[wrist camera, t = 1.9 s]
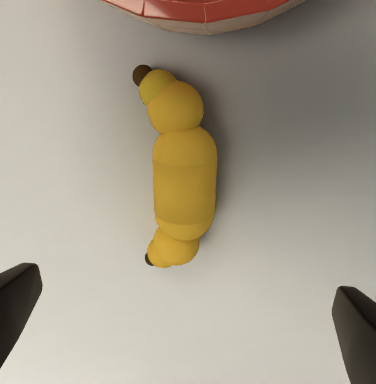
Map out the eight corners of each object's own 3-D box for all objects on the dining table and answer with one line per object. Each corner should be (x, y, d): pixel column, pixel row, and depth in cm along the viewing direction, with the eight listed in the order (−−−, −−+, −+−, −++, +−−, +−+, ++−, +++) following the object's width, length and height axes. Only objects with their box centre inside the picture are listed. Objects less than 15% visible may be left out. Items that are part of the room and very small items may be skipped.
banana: (220, 266, 20) (194, 299, 17) (163, 246, 22) (132, 272, 19) (233, 65, 15) (199, 65, 12) (159, 64, 17) (116, 64, 14)
